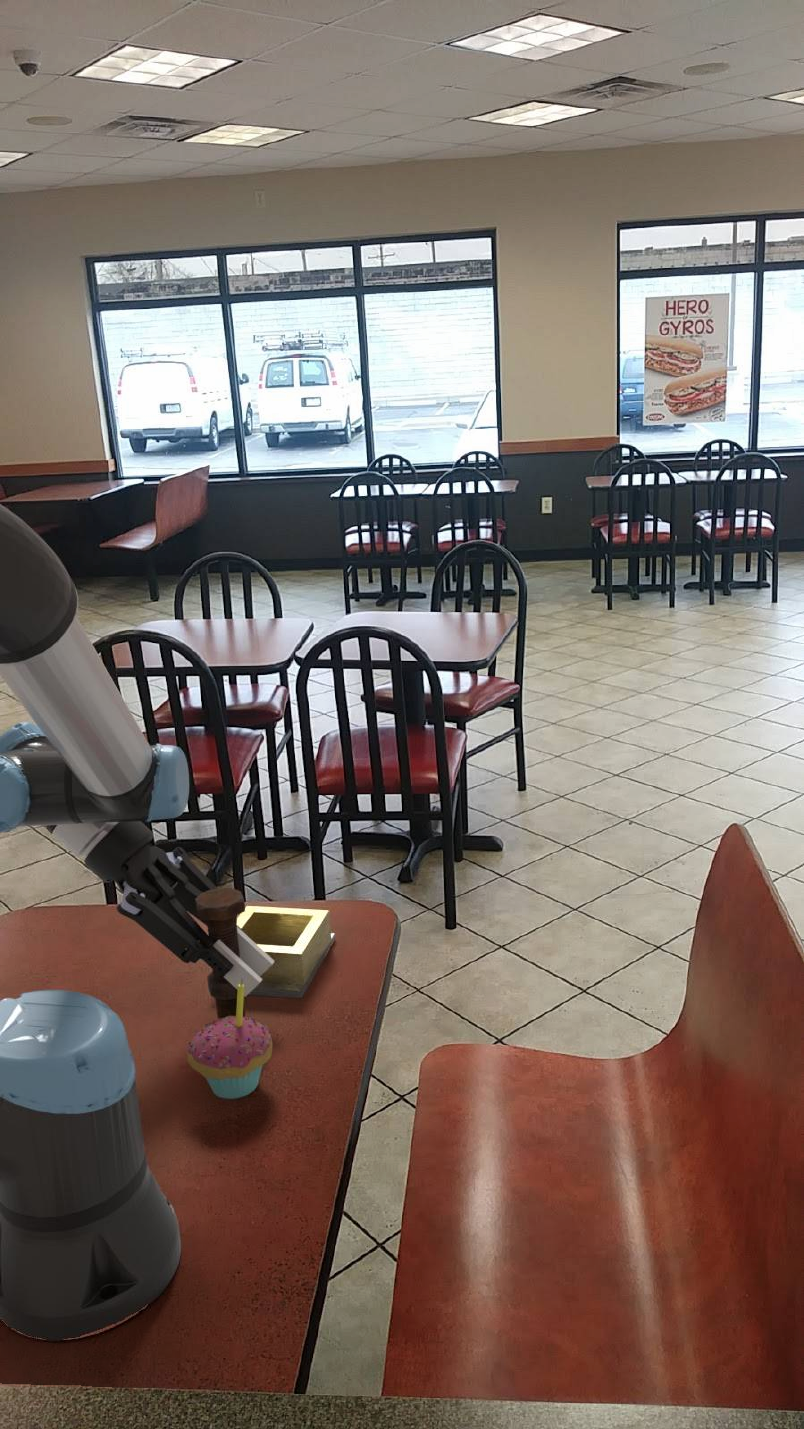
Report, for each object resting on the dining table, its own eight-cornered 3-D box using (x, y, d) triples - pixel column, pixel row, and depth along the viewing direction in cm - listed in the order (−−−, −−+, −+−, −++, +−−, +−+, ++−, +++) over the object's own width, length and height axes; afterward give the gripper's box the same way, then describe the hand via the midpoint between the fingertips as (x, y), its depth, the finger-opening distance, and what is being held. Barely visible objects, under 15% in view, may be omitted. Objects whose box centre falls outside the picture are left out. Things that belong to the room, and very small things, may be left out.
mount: (300, 998, 129) (297, 960, 127) (213, 991, 132) (208, 954, 130) (335, 940, 142) (332, 905, 140) (254, 935, 145) (251, 900, 143)
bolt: (206, 1009, 128) (192, 890, 124) (249, 1000, 129) (237, 883, 125) (213, 1035, 122) (199, 912, 118) (258, 1026, 124) (246, 903, 120)
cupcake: (261, 1052, 119) (250, 953, 115) (288, 1095, 112) (277, 990, 108) (183, 1077, 116) (169, 975, 112) (205, 1122, 108) (191, 1015, 105)
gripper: (121, 828, 132) (265, 961, 132) (48, 888, 116) (212, 1038, 117) (156, 788, 129) (303, 924, 130) (87, 844, 114) (254, 998, 114)
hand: (259, 978), depth 123 cm, fingers closed on bolt, 3 cm apart
